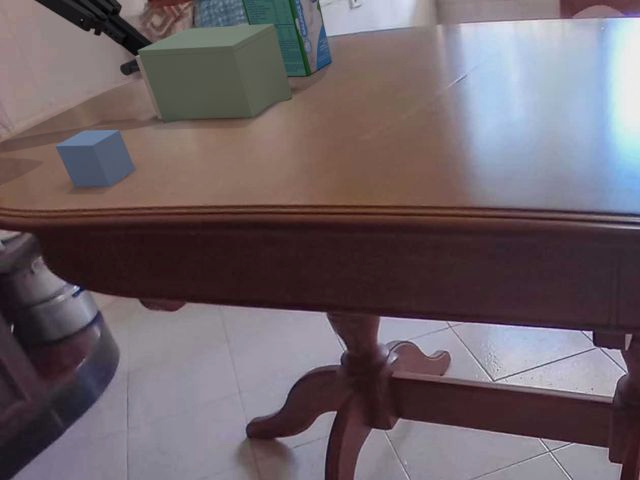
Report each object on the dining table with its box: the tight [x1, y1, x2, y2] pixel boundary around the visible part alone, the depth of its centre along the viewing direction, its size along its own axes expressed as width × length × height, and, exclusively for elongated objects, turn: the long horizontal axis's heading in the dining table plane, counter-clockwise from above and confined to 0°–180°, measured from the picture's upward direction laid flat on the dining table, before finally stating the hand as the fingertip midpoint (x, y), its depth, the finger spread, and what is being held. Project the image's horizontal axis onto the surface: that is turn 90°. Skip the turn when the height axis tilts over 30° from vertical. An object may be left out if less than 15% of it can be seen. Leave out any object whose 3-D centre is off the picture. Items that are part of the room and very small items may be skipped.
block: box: [55, 129, 136, 187], centre depth 83 cm, size 5×5×6 cm
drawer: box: [119, 55, 163, 120], centre depth 104 cm, size 18×11×9 cm, turn 78°
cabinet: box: [138, 24, 293, 124], centre depth 103 cm, size 15×13×11 cm
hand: (149, 54), depth 103 cm, fingers closed
